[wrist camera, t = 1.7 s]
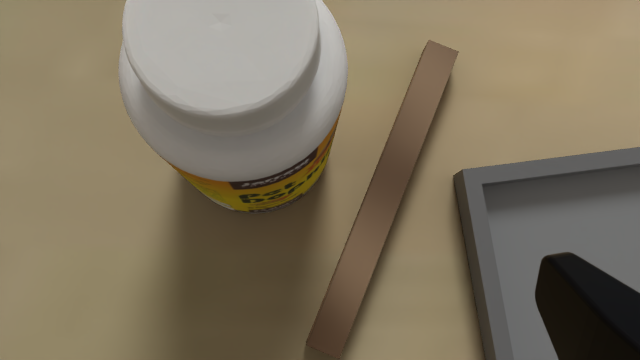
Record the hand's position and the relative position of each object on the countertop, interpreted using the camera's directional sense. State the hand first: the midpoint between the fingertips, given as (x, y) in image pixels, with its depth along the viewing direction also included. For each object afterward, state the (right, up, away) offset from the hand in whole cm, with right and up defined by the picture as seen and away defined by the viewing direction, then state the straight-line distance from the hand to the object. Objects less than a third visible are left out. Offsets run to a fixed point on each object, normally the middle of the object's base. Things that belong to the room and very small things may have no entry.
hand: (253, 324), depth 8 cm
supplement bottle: (-1, +4, +13) cm, 14 cm away
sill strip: (+3, +2, +12) cm, 13 cm away
